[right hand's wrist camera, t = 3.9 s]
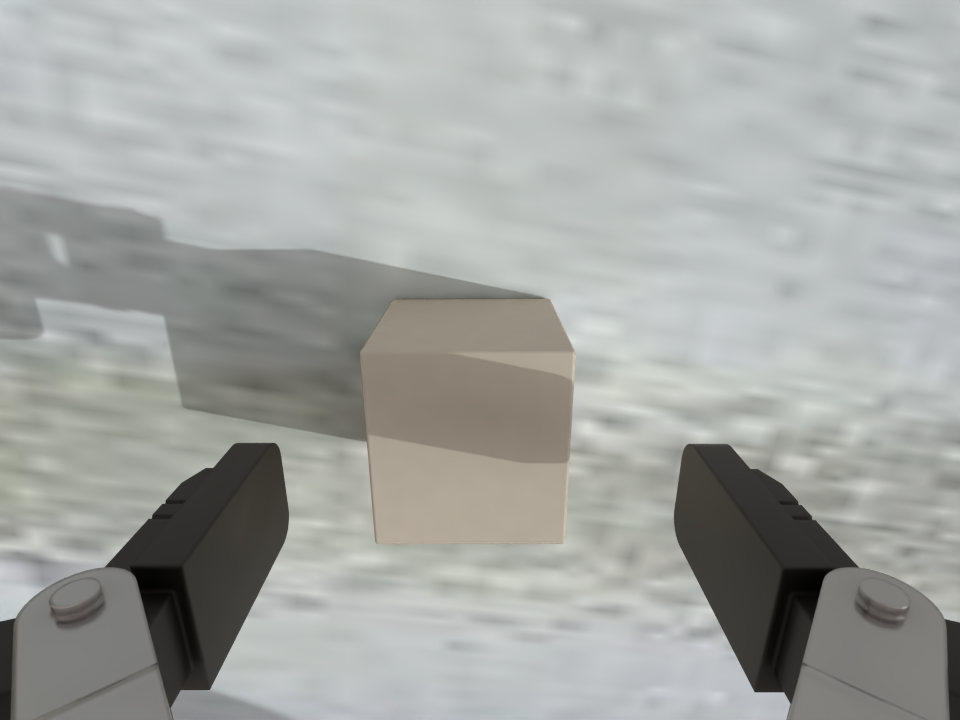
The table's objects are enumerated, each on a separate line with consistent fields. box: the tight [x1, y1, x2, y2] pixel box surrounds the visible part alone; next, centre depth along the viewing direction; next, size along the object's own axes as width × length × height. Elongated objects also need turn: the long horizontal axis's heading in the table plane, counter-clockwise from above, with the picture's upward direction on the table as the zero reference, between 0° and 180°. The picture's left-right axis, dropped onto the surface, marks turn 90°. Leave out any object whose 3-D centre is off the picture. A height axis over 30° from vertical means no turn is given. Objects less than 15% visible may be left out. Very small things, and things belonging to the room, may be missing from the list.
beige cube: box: [360, 299, 576, 544], centre depth 15 cm, size 5×5×5 cm
